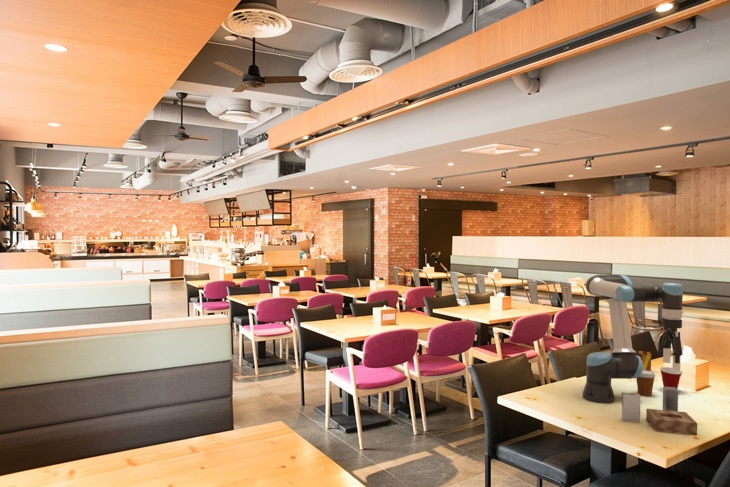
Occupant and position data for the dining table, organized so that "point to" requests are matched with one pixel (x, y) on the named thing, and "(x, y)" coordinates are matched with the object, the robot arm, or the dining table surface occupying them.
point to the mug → (645, 359)
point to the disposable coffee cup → (645, 383)
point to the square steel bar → (670, 399)
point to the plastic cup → (670, 377)
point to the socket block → (671, 421)
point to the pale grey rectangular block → (630, 407)
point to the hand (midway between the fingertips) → (671, 366)
